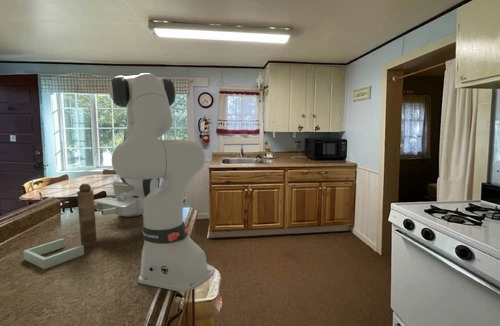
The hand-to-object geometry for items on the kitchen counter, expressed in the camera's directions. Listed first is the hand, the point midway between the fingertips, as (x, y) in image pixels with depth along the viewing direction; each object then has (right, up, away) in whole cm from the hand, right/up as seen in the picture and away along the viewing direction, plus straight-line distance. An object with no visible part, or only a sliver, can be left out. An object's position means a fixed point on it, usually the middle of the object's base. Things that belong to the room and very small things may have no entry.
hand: (94, 211), depth 105 cm
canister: (-1, -8, +36) cm, 37 cm away
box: (-7, -13, -11) cm, 19 cm away
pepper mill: (-2, -12, -1) cm, 12 cm away
